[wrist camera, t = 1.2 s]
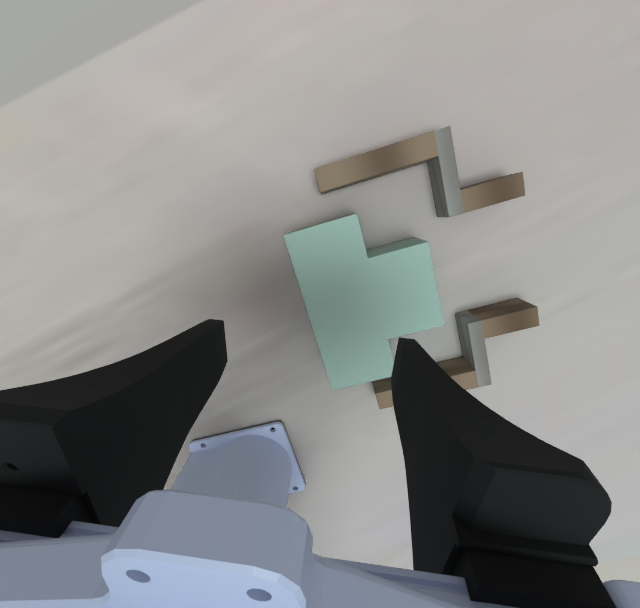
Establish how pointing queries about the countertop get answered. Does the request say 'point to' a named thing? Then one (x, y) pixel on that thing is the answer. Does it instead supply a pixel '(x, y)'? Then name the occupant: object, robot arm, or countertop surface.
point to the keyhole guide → (448, 203)
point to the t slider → (362, 296)
